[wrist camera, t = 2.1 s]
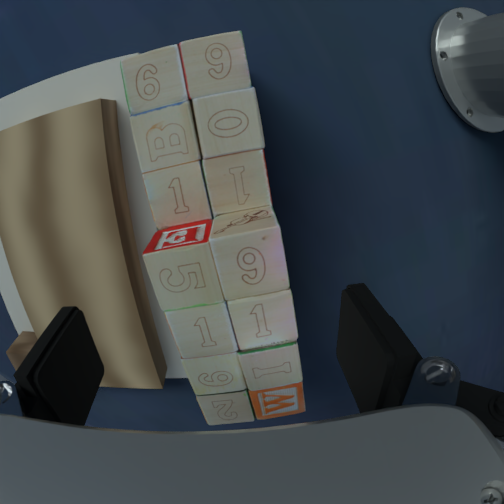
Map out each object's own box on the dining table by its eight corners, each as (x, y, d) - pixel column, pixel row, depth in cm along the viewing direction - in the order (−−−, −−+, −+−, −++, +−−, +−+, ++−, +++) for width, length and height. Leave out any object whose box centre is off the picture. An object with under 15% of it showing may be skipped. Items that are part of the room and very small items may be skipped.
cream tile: (141, 54, 20) (138, 52, 19) (190, 372, 31) (189, 377, 31) (-32, 117, 19) (-37, 118, 19) (39, 366, 31) (36, 370, 30)
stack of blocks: (160, 79, 21) (93, 45, 9) (242, 62, 21) (248, 6, 9) (215, 321, 29) (207, 429, 18) (282, 310, 29) (306, 416, 18)
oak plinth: (116, 100, 20) (100, 98, 18) (167, 367, 30) (162, 388, 27) (2, 135, 20) (-18, 138, 17) (69, 364, 30) (59, 382, 27)
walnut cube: (47, 332, 28) (31, 355, 24) (60, 360, 30) (47, 384, 26) (22, 330, 28) (5, 352, 24) (35, 358, 30) (21, 380, 26)
